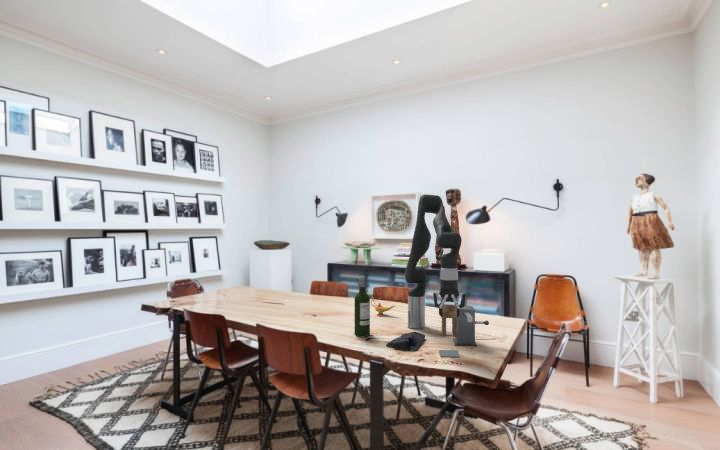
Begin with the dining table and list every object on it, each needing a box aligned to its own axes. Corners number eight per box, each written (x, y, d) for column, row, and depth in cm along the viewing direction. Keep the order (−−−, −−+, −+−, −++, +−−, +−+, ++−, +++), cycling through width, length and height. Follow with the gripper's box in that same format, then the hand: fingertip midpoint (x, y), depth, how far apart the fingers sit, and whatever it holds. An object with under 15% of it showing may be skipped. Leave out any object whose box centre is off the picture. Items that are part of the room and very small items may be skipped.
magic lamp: (393, 318, 222) (393, 300, 222) (367, 314, 232) (367, 296, 232) (398, 316, 227) (398, 298, 227) (373, 312, 237) (373, 295, 237)
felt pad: (440, 357, 156) (440, 356, 156) (439, 350, 164) (439, 349, 164) (459, 357, 155) (459, 356, 155) (457, 351, 163) (457, 350, 163)
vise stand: (458, 353, 160) (458, 314, 160) (452, 340, 179) (452, 305, 179) (496, 355, 158) (496, 315, 158) (487, 341, 177) (487, 306, 177)
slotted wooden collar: (442, 336, 158) (442, 306, 158) (441, 333, 162) (441, 304, 162) (456, 337, 157) (456, 306, 157) (455, 334, 161) (455, 304, 161)
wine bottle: (364, 337, 183) (364, 277, 183) (351, 335, 188) (351, 276, 188) (372, 333, 190) (372, 275, 190) (359, 331, 194) (359, 274, 194)
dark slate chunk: (430, 340, 181) (430, 330, 181) (414, 353, 162) (414, 343, 162) (401, 335, 189) (401, 326, 189) (383, 348, 169) (383, 337, 169)
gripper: (432, 279, 157) (433, 318, 157) (467, 279, 155) (467, 319, 155) (431, 276, 165) (431, 314, 164) (464, 277, 163) (464, 315, 163)
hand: (449, 316), depth 160 cm, fingers closed on slotted wooden collar, 6 cm apart
